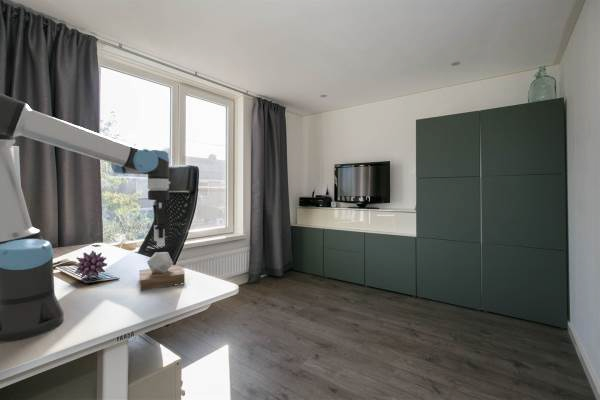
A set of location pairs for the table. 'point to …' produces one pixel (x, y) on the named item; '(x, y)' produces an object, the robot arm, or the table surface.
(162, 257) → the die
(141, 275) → the plinth
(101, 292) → the table surface
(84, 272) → the purple spiky ball
